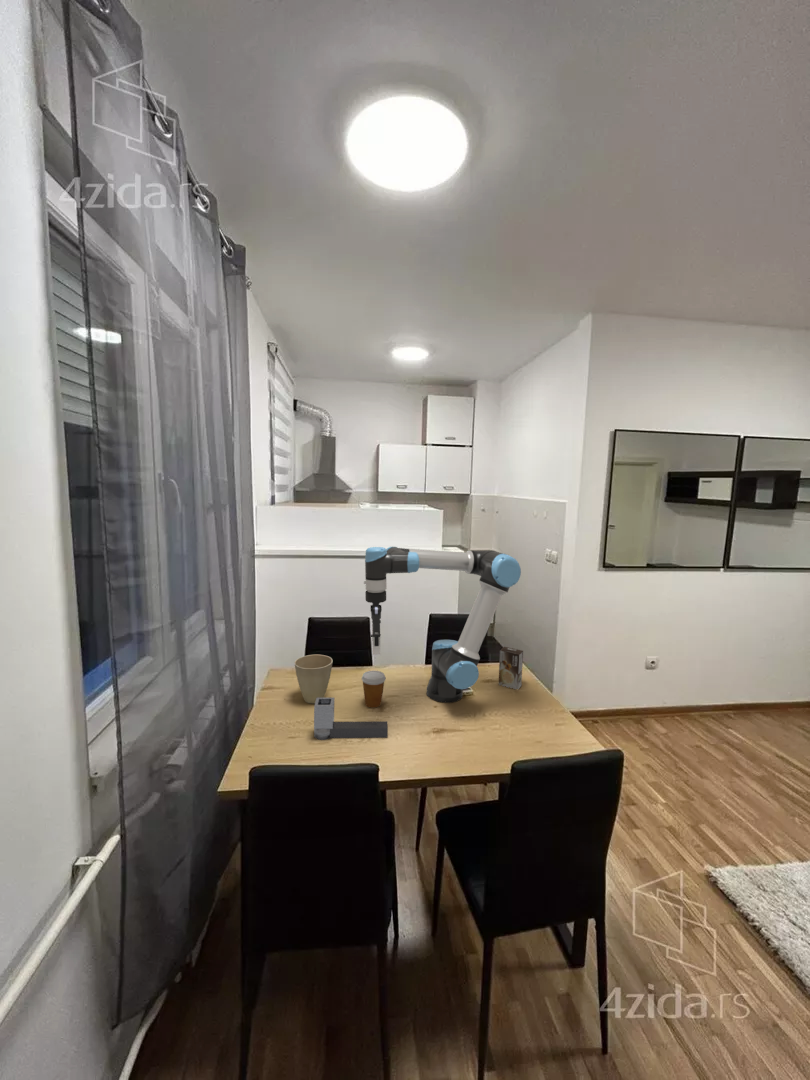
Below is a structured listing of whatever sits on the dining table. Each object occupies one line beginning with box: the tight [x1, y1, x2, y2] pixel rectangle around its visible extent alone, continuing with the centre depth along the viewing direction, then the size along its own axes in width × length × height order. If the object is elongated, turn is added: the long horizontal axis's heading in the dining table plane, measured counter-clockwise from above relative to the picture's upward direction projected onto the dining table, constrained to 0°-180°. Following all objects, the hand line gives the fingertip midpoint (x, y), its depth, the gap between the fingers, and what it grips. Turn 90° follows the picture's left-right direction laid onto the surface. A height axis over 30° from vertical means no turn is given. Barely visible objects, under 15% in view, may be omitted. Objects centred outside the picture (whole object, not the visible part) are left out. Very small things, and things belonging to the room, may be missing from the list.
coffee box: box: [497, 646, 524, 690], centre depth 194 cm, size 9×6×16 cm
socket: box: [313, 697, 335, 730], centre depth 150 cm, size 6×6×8 cm
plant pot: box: [294, 654, 333, 704], centre depth 175 cm, size 15×15×16 cm
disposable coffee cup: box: [361, 670, 386, 709], centre depth 173 cm, size 10×10×12 cm
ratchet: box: [313, 720, 389, 741], centre depth 151 cm, size 25×6×10 cm, turn 94°
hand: (376, 647), depth 160 cm, fingers open, 13 cm apart
